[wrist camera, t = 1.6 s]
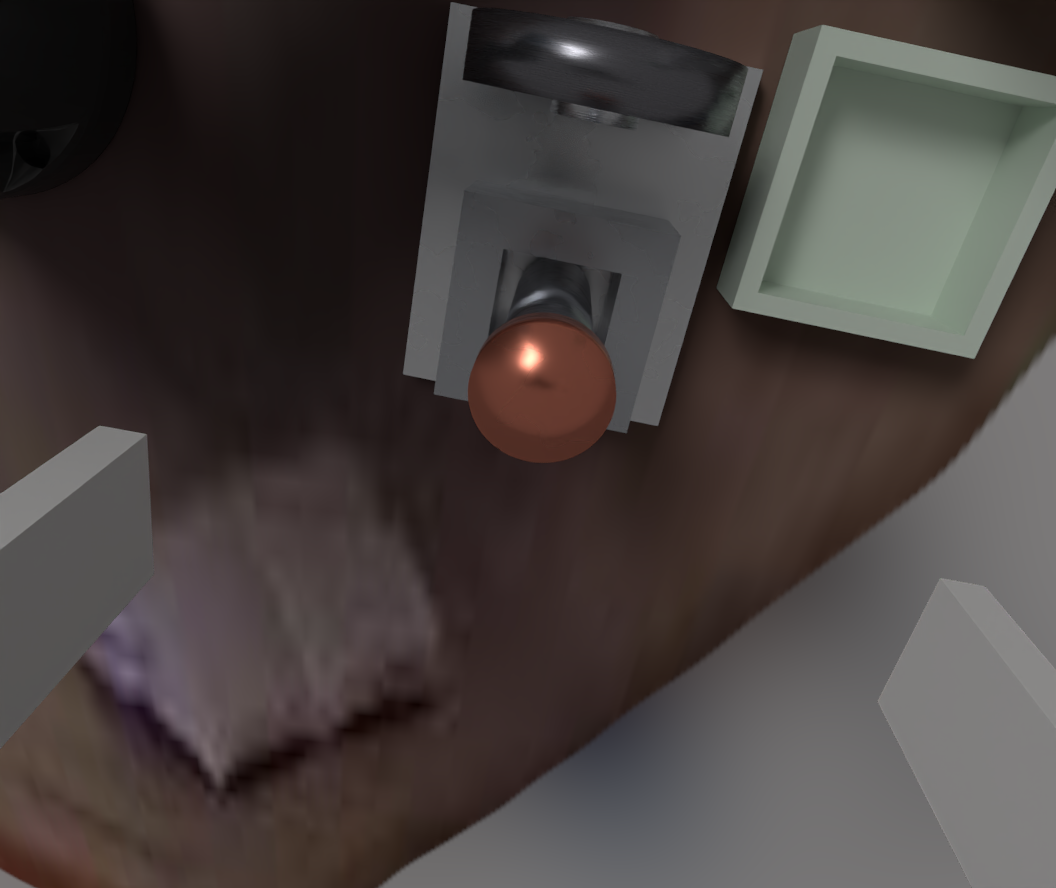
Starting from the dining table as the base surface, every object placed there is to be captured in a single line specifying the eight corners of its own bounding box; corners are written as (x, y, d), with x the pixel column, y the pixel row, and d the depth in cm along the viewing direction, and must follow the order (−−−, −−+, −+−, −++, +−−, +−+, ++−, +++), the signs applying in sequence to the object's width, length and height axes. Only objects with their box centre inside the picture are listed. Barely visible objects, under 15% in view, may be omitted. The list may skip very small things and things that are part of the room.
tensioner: (408, 366, 35) (348, 460, 26) (455, 5, 29) (398, -42, 19) (655, 416, 35) (683, 527, 26) (756, 71, 29) (841, 55, 20)
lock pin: (497, 331, 33) (457, 447, 22) (514, 236, 31) (480, 309, 20) (589, 350, 33) (597, 475, 22) (612, 256, 31) (632, 340, 20)
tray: (716, 287, 33) (731, 308, 29) (793, 34, 28) (822, 24, 25) (934, 333, 33) (974, 358, 30) (1043, 89, 29) (1104, 86, 25)
